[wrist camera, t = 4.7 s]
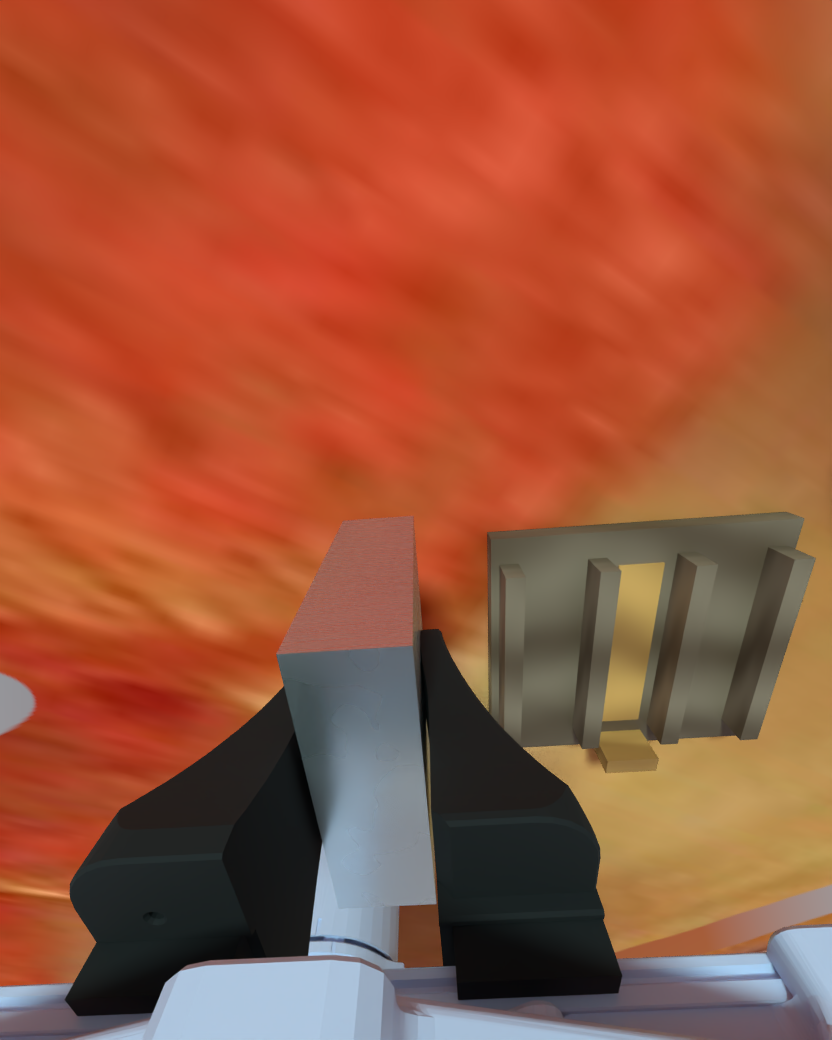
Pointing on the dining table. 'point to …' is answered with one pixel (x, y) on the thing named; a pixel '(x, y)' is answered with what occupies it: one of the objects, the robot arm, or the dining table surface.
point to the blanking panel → (365, 714)
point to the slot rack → (641, 631)
